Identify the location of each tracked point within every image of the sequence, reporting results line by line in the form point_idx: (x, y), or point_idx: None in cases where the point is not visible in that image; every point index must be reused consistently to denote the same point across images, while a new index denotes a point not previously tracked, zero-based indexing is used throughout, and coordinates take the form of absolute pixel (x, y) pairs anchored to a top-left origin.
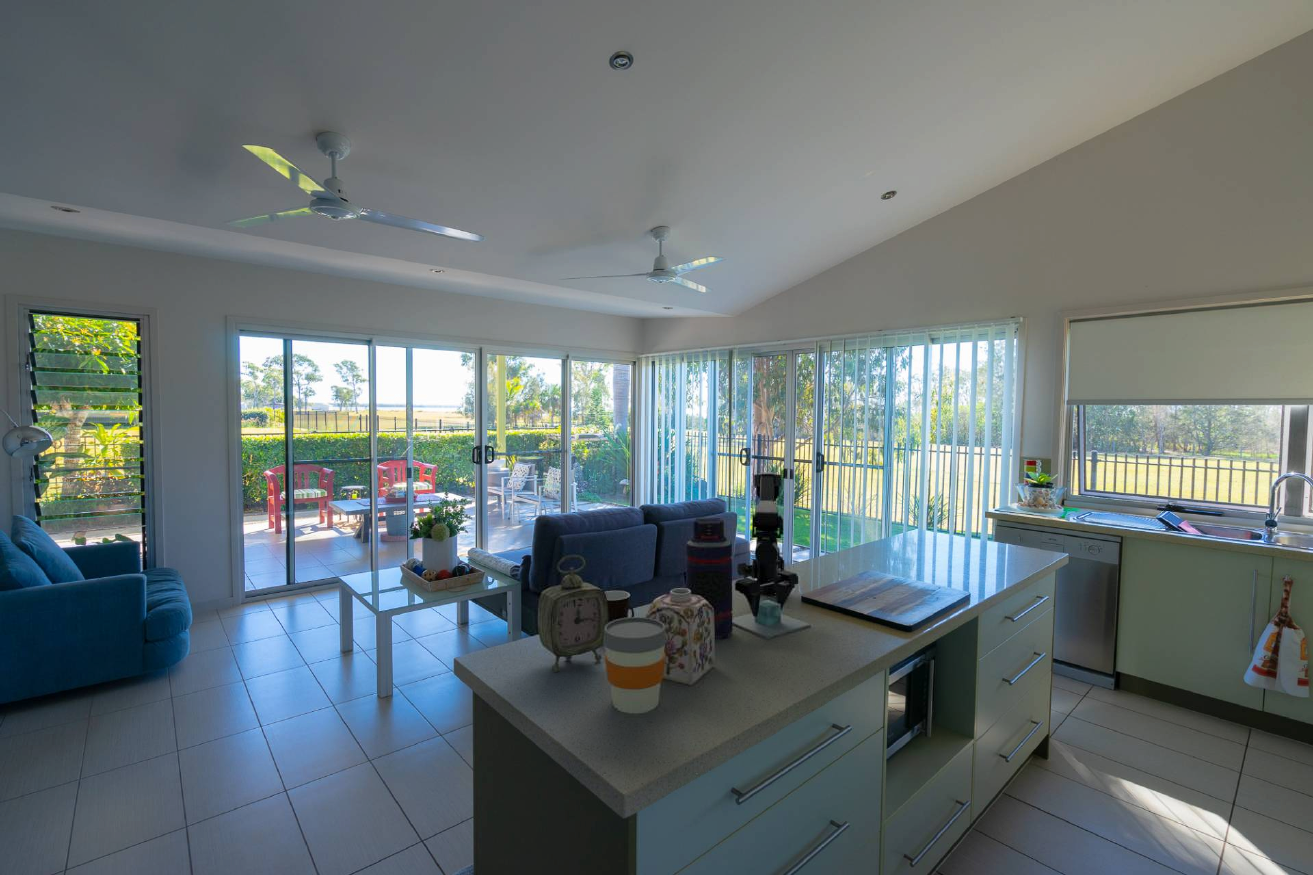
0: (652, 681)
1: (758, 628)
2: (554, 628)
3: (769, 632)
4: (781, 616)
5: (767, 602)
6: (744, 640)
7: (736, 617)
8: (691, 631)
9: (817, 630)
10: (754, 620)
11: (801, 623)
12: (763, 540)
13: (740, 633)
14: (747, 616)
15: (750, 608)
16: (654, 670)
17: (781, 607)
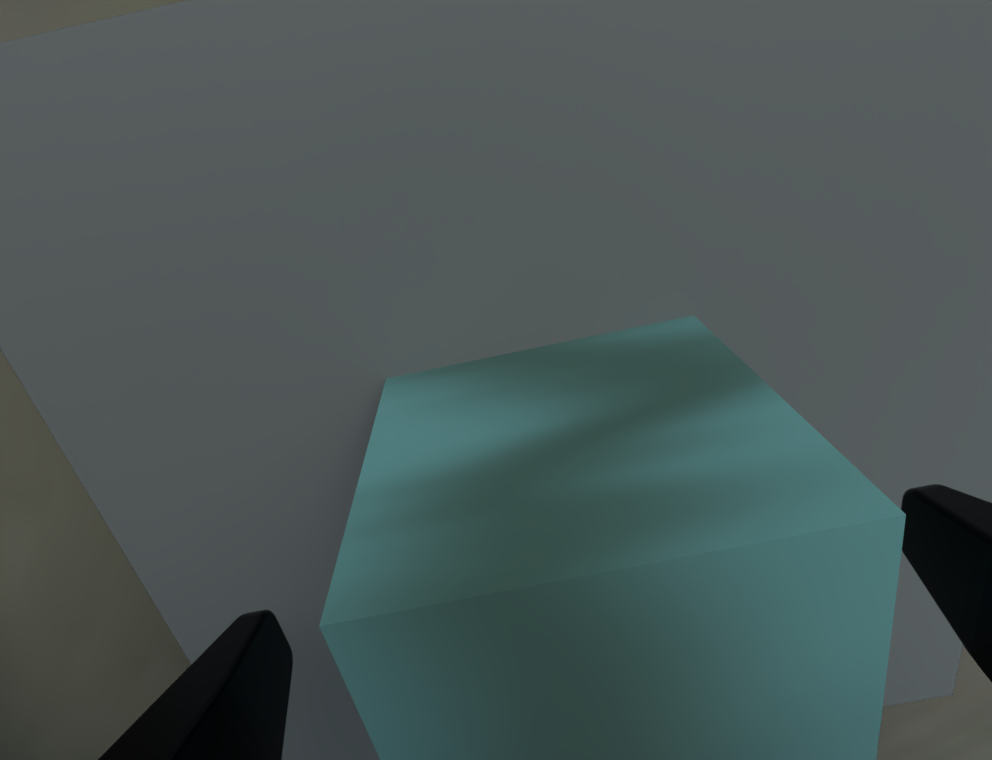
0: None
1: (300, 627)
2: None
3: (367, 746)
4: (928, 351)
5: (712, 685)
6: (34, 753)
7: (118, 43)
8: None
9: (894, 751)
10: (404, 345)
11: (899, 648)
12: None
13: (40, 598)
14: (385, 85)
15: (114, 744)
16: None
17: (947, 612)
